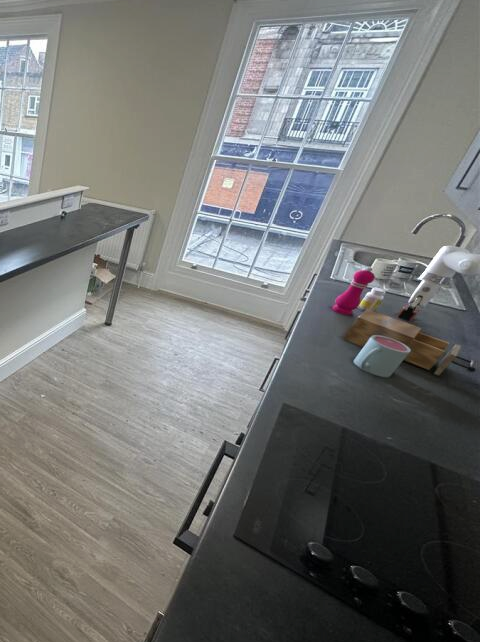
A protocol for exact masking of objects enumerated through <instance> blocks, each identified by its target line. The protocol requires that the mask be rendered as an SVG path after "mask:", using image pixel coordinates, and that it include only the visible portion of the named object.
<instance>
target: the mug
mask: <svg viewBox="0 0 480 642" xmlns="http://www.w3.org/2000/svg"><path fill="white" fill-rule="evenodd" d="M410 351H411V350H410V348H409V347H408V346H406V345H405V344H403V343H401V342H399V341H397V340H394V339H391V338H388V337H385V336H380V335H373V336H371V338H370V339H369V340H368V342H367V343H366V345H365V346H364V347H362V349H361V350H360V351H359V353H358V354H357V356H356V357H355V358H354V359H353V364H355V365H356V367H358V368H359V369H361V370H362V371H364V372H367V373H368V374H372V375H374V376H376V377H377V376H378V377H381V378H389V377H391V376H393V373H394V372H395V371H396V370H397V368H398V367H399V366H400V365H401V364H402V362H404V361H405V360H404V359H405V357H406V356H407V355H408V354H409V352H410Z"/></svg>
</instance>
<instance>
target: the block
mask: <svg viewBox="0 0 480 642" xmlns="http://www.w3.org/2000/svg"><path fill="white" fill-rule="evenodd" d="M407 307H408V305H404V306H403V308H402V309H401V310H400V311H399V313H398V314H397V315H396V317H397V318H398V317H399V316H400V315H401V313H402V312H403V311H404V310H405V309H406V308H407ZM413 311H414V310H413ZM419 312H420V310H419V309H417V310H416V311H415V312H414V313H415V314H414V315H413V316H412V317H411V319H410V320H409V321H408V322H412V321H413V319H415V317H416V316H417V315H418V313H419Z"/></svg>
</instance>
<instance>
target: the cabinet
mask: <svg viewBox="0 0 480 642" xmlns="http://www.w3.org/2000/svg"><path fill="white" fill-rule="evenodd" d="M421 330H422V327H420V326H418V325H414V324H412V323H408V322H405V321H402V320H401V319H400V320H399V319H397V318H394V317H392V316H388V315H386V314H383V313H381V312H380V313H379V312H376V311H375V312H374V311H371V310H369V309H367V310H366V311H363V312H362V313H361V314H360V315H359V316H357V318H356V319H355V321H354V322H353V324H352V326H351V327H350V328H349V329H348V331H347V333H345V336H344V337H343V340H344V341H347V342H350V343H352V344H355V345H357V346H359V347H361V348H363V347H364V346H365V345H366V343H367V342H368V340H369V339H370V338H371V336H373V335H380V336H385V337H388V338H391V339H394V340H397V341H399V342H401V343H403V344H405V345H406V346H408V345H409V344H410V343H411V341H412V340H413V339H414V338H415V336H416V335H417V334H418V332H420V331H421Z"/></svg>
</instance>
